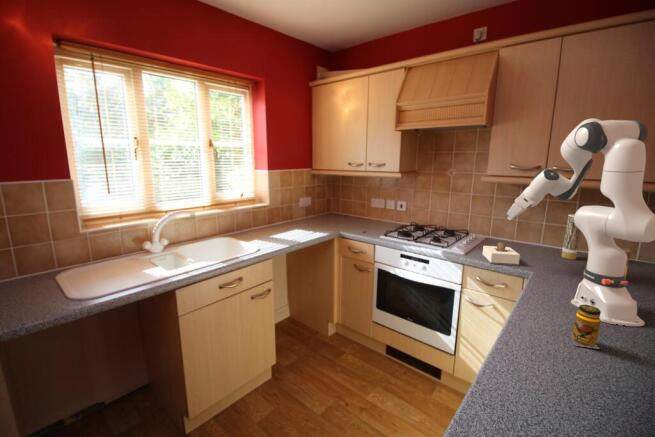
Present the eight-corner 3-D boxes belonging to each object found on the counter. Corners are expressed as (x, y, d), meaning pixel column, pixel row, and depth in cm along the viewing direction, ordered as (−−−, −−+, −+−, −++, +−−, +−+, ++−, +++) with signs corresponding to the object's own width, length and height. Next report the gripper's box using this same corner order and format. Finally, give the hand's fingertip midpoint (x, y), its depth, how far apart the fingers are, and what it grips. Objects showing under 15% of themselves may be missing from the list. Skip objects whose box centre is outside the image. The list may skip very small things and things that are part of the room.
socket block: (518, 265, 169) (520, 254, 167) (490, 263, 171) (491, 253, 169) (508, 257, 182) (509, 247, 181) (482, 255, 184) (483, 245, 183)
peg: (504, 260, 174) (507, 244, 172) (497, 259, 175) (499, 243, 173) (502, 257, 178) (504, 242, 176) (494, 257, 179) (496, 241, 177)
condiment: (575, 347, 98) (582, 311, 96) (563, 332, 106) (569, 299, 104) (603, 351, 96) (611, 315, 94) (589, 335, 104) (595, 302, 102)
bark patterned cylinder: (570, 256, 185) (578, 214, 180) (578, 260, 178) (586, 216, 173) (558, 255, 185) (565, 214, 180) (565, 259, 179) (573, 216, 174)
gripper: (535, 187, 164) (519, 205, 174) (514, 200, 155) (498, 218, 165) (546, 195, 161) (529, 213, 171) (525, 208, 151) (508, 226, 162)
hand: (513, 216), depth 168 cm, fingers open, 8 cm apart
